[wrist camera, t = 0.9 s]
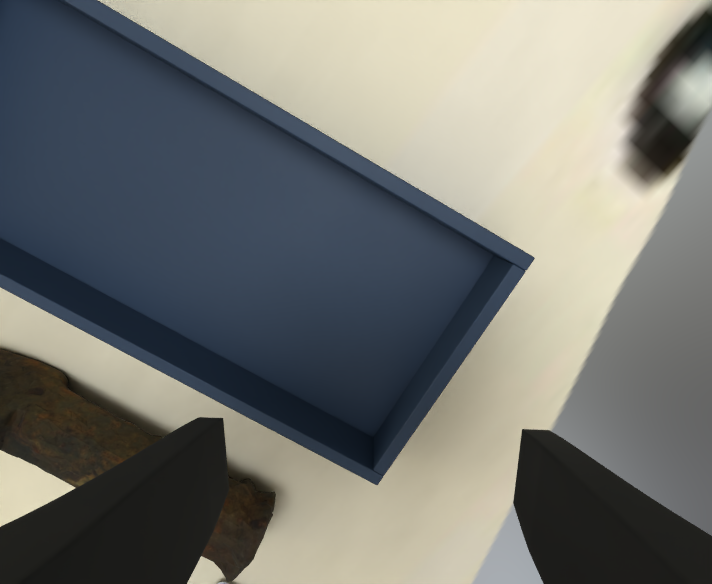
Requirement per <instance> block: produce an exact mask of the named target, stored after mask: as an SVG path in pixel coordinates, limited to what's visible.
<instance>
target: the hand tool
mask: <svg viewBox="0 0 712 584" xmlns="http://www.w3.org/2000/svg"><path fill="white" fill-rule="evenodd" d="M160 439H162V438H161V436H152V435H149V434H147V433H146V432H145V431H143V430H141V429H139V428H138V427H136V426H135V425H134V424H132V423H130V422H127V421H124V420H122V419H121V418H119V417H117V416H115V415H114V414H112V413H110V412H108V411H107V410H105V409H103V408H101V407H99V406H97V405H96V404H94V403H92V402H90V401H88V400H86V399H85V398H83V397H81V396H79V395H77V394H76V393H74V392H72V391H70V390H69V389H68V379H67V377H66V376H65V375H64V374H63V373H62V372H60V371H59V370H58V369H55V368H53V367H51V366H49V365H46V364H44V363H42V362H39V361H37V360H34V359H31V358H27V357H24V356H21V355H18V354H15V353H12V352H8V351H5V350H2V349H0V450H2V451H4V452H6V453H8V454H10V455H13V456H15V457H19V458H21V459H23V460H25V461H27V462H29V463H31V464H34V465H36V466H38V467H39V468H41V469H42V470H44V471H45V472H47V473H50V474H52V475H54V476H56V477H58V478H59V479H61V480H63V481H65V482H67V483H68V484H70V485H72V486H74V487H76V488H77V487H79V486H81V485H83V484H84V483H86V482H88V481H90V480H92V479H93V478H95V477H97V476H99V475H100V474H102V473H104V472H106V471H108V470H109V469H111V468H113V467H115V466H116V465H118V464H120V463H122V462H123V461H125V460H127V459H128V458H130V457H132V456H133V455H135V454H137V453H138V452H140V451H142V450H143V449H145V448H147V447H148V446H150V445H152V444H153V443H155V442H157V441H158V440H160ZM228 481H229V491H228V494H227V497H226V500H225V502H224V505H223V508H222V511H221V513H220V516H219V518H218V521H217V523H216V526H215V528H214V531H213V533H212V535H211V537H210V539H209V541H208V543H207V545H206V547H205V549H204V551H203V553H202V555H201V556H203V557H205V558H207V559H209V560H211V561H213V562H214V563H215V564H216V565H217V566H218V567H219V568H220V569H221V571H222V573H223V574H224V576H225V578H226V581H227V582H232V581H233V580H234V579H235V578H236V577H237V576H238V575H239V574H240V573H241V572H242V571H243V569H244V568H246V567H247V566H248V565H249V564H250V563H251V561H252V560H253V559H254V557H255V554H256V552H257V549H258V547H259V545H260V543H261V541H262V539H263V537H264V534H265V531H266V529H267V526H268V524H269V522H270V519H271V517H272V516H273V514H272V512H273V510H274V504H275V496H276V494H275V492H265V493H261V492H257V491H256V490H255V487H254V485H253V483H252V482H251V480H250V479H245V480H243V481H241V482H239V481H236V480H233V479H231V478H229V477H228Z"/></svg>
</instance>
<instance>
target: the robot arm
mask: <svg viewBox="0 0 712 584" xmlns="http://www.w3.org/2000/svg"><path fill="white" fill-rule="evenodd" d="M228 491H229V481H228V469H227V458H226V446H225V435H224V423H223V418H202V417H199V418H197V419H195V420H193V421H191V422H189V423H187V424H185V425H184V426H182V427H180V428H178V429H177V430H175V431H173V432H172V433H170V434H168V435H167V436H165V437H163V438H162V439H160V440H158V441H157V442H155V443H153V444H152V445H150V446H148V447H147V448H145V449H143V450H142V451H140V452H138V453H137V454H135V455H133V456H132V457H130V458H128V459H127V460H125V461H123V462H122V463H120V464H118V465H116V466H115V467H113V468H111V469H109V470H108V471H106V472H104V473H102V474H100V475H99V476H97V477H95V478H93V479H92V480H90V481H88V482H86V483H84V484H83V485H81V486H79V487H77V488H75V489H74V490H72V491H70V492H68V493H66V494H65V495H63V496H61V497H59V498H57V499H55V500H53V501H52V502H50V503H48V504H46V505H44V506H42V507H40V508H38V509H36V510H34V511H32V512H30V513H28V514H26V515H24V516H22V517H20V518H18V519H16V520H14V521H12V522H9V523H7V524H5V525H3V526H1V527H0V584H187V582H188V580H189V578H190V576H191V574H192V573H193V571H194V569H195V567H196V565H197V563H198V561H199V559H200V557H201V555H202V553H203V551H204V549H205V547H206V545H207V543H208V541H209V539H210V537H211V535H212V533H213V531H214V528H215V526H216V523H217V521H218V518H219V516H220V513H221V511H222V508H223V505H224V502H225V500H226V497H227V494H228ZM513 503H514V506H515V510H516V513H517V516H518V519H519V522H520V526H521V529H522V532H523V535H524V538H525V541H526V544H527V547H528V549H529V552H530V554H531V556H532V559H533V561H534V563H535V565H536V568H537V570H538V572H539V574H540V577H541V579H542V581H543V583H544V584H712V536H711V535H709V534H707V533H706V532H704V531H703V530H701V529H700V528H698V527H696V526H695V525H693V524H691V523H690V522H688V521H687V520H685V519H683V518H682V517H680V516H678V515H677V514H675V513H674V512H672V511H670V510H669V509H667V508H666V507H664V506H663V505H661V504H659V503H658V502H656V501H655V500H653V499H652V498H650V497H649V496H647V495H646V494H644V493H643V492H641V491H640V490H638V489H637V488H635V487H633V486H632V485H631V484H629V483H627V482H626V481H624V480H623V479H622V478H620V477H619V476H617V475H615V474H614V473H613V472H611V471H610V470H608V469H607V468H605V467H604V466H603V465H601V464H600V463H598V462H596V461H595V460H594V459H592V458H591V457H589V456H588V455H586V454H585V453H583V452H582V451H581V450H579V449H578V448H576V447H574V446H573V445H572V444H570V443H569V442H567V441H566V440H564V439H563V438H561V437H559V436H558V435H556V434H554V433H553V432H551V431H549V430H527V429H522V436H521V444H520V452H519V461H518V469H517V477H516V486H515V494H514V502H513ZM217 584H229V583H227V582H219V583H217Z"/></svg>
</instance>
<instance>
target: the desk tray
mask: <svg viewBox="0 0 712 584" xmlns="http://www.w3.org/2000/svg"><path fill="white" fill-rule="evenodd" d="M533 260H534V257H533V256H531V255H529V254H528V253H526V252H524V251H523V250H521V249H519V248H517V247H516V246H514V245H512V244H511V243H509V242H507V241H506V240H504V239H502V238H500V237H499V236H497V235H495V234H494V233H492V232H490V231H489V230H487V229H485V228H483V227H482V226H480V225H478V224H477V223H475V222H473V221H472V220H470V219H468V218H466V217H465V216H463V215H461V214H460V213H458V212H456V211H455V210H453V209H451V208H449V207H448V206H446V205H444V204H443V203H441V202H439V201H438V200H436V199H434V198H432V197H431V196H429V195H427V194H426V193H424V192H422V191H421V190H419V189H417V188H415V187H414V186H412V185H410V184H409V183H407V182H405V181H404V180H402V179H400V178H398V177H397V176H395V175H393V174H392V173H390V172H388V171H387V170H385V169H383V168H381V167H380V166H378V165H376V164H375V163H373V162H371V161H370V160H368V159H366V158H364V157H363V156H361V155H359V154H358V153H356V152H354V151H353V150H351V149H349V148H347V147H346V146H344V145H342V144H341V143H339V142H337V141H336V140H334V139H332V138H330V137H329V136H327V135H325V134H324V133H322V132H320V131H319V130H317V129H315V128H314V127H312V126H310V125H308V124H307V123H305V122H303V121H302V120H300V119H298V118H297V117H295V116H293V115H291V114H290V113H288V112H286V111H285V110H283V109H281V108H280V107H278V106H276V105H274V104H273V103H271V102H269V101H268V100H266V99H264V98H263V97H261V96H259V95H257V94H256V93H254V92H252V91H251V90H249V89H247V88H246V87H244V86H242V85H240V84H239V83H237V82H235V81H234V80H232V79H230V78H229V77H227V76H225V75H223V74H222V73H220V72H218V71H217V70H215V69H213V68H212V67H210V66H208V65H206V64H205V63H203V62H201V61H200V60H198V59H196V58H195V57H193V56H191V55H189V54H188V53H186V52H184V51H183V50H181V49H179V48H178V47H176V46H174V45H172V44H171V43H169V42H167V41H166V40H164V39H162V38H161V37H159V36H157V35H155V34H154V33H152V32H150V31H149V30H147V29H145V28H144V27H142V26H140V25H138V24H137V23H135V22H133V21H132V20H130V19H128V18H127V17H125V16H123V15H121V14H120V13H118V12H116V11H115V10H113V9H111V8H110V7H108V6H106V5H104V4H103V3H101V2H99V1H98V0H0V287H1V288H3V289H5V290H7V291H8V292H10V293H12V294H14V295H16V296H18V297H20V298H22V299H24V300H26V301H27V302H29V303H31V304H33V305H35V306H37V307H39V308H41V309H43V310H45V311H47V312H48V313H50V314H52V315H54V316H56V317H58V318H60V319H62V320H64V321H66V322H67V323H69V324H71V325H73V326H75V327H77V328H79V329H81V330H83V331H85V332H86V333H88V334H90V335H92V336H94V337H96V338H98V339H100V340H102V341H104V342H105V343H107V344H109V345H111V346H113V347H115V348H117V349H119V350H121V351H123V352H124V353H126V354H128V355H130V356H132V357H134V358H136V359H138V360H140V361H142V362H143V363H145V364H147V365H149V366H151V367H153V368H155V369H157V370H159V371H161V372H162V373H164V374H166V375H168V376H170V377H172V378H174V379H176V380H178V381H180V382H181V383H183V384H185V385H187V386H189V387H191V388H193V389H195V390H197V391H199V392H201V393H202V394H204V395H206V396H208V397H210V398H212V399H214V400H216V401H218V402H220V403H221V404H223V405H225V406H227V407H229V408H231V409H233V410H235V411H237V412H239V413H240V414H242V415H244V416H246V417H248V418H250V419H252V420H254V421H256V422H258V423H259V424H261V425H263V426H265V427H267V428H269V429H271V430H273V431H275V432H277V433H278V434H280V435H282V436H284V437H286V438H288V439H290V440H292V441H294V442H296V443H297V444H299V445H301V446H303V447H305V448H307V449H309V450H311V451H313V452H315V453H316V454H318V455H320V456H322V457H324V458H326V459H328V460H330V461H332V462H334V463H335V464H337V465H339V466H341V467H343V468H345V469H347V470H349V471H351V472H353V473H355V474H356V475H358V476H360V477H362V478H364V479H366V480H368V481H370V482H372V483H374V484H375V485H378V484H379V482H380V481H381V479H382V478H383V475H385V473H386V472H387V470H388V469H389V468H390V466H391V465H392V463H393V462H394V460H395V459H396V458H397V456H398V455H399V453H400V452H401V450H402V449H403V447H404V446H405V445H406V443H407V442H408V440H409V439H410V437H411V436H412V434H413V433H414V432H415V430H416V429H417V427H418V426H419V424H420V423H421V422H422V420H423V419H424V417H425V416H426V414H427V413H428V411H429V410H430V409H431V407H432V406H433V404H434V403H435V401H436V400H437V398H438V397H439V396H440V394H441V393H442V391H443V390H444V388H445V387H446V386H447V384H448V383H449V381H450V380H451V378H452V377H453V375H454V374H455V373H456V371H457V370H458V368H459V367H460V365H461V364H462V362H463V361H464V360H465V358H466V357H467V355H468V354H469V352H470V351H471V350H472V348H473V347H474V345H475V344H476V342H477V341H478V339H479V338H480V337H481V335H482V334H483V332H484V331H485V329H486V328H487V326H488V325H489V324H490V322H491V321H492V319H493V318H494V316H495V315H496V314H497V312H498V311H499V309H500V308H501V306H502V305H503V303H504V302H505V301H506V299H507V298H508V296H509V295H510V293H511V292H512V290H513V289H514V288H515V286H516V285H517V283H518V282H519V280H520V279H521V278H522V276H523V275H524V273H525V270H527V269H528V267H529V266H530V265H531V263H532V262H533Z"/></svg>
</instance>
